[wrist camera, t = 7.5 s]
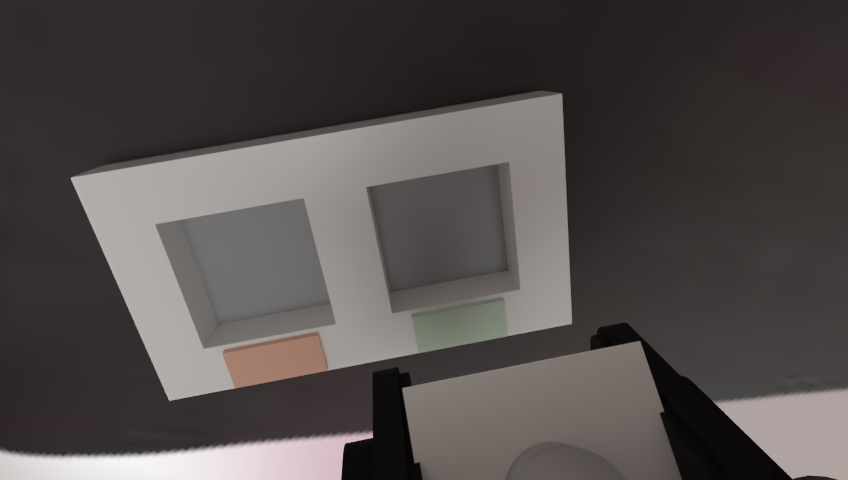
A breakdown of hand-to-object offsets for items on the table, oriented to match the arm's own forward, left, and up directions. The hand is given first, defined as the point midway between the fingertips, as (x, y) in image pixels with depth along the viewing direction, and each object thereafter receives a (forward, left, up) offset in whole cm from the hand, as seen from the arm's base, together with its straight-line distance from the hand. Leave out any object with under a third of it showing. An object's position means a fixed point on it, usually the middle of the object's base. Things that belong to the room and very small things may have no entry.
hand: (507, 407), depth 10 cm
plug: (0, +3, -2) cm, 3 cm away
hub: (+4, 0, -12) cm, 13 cm away
